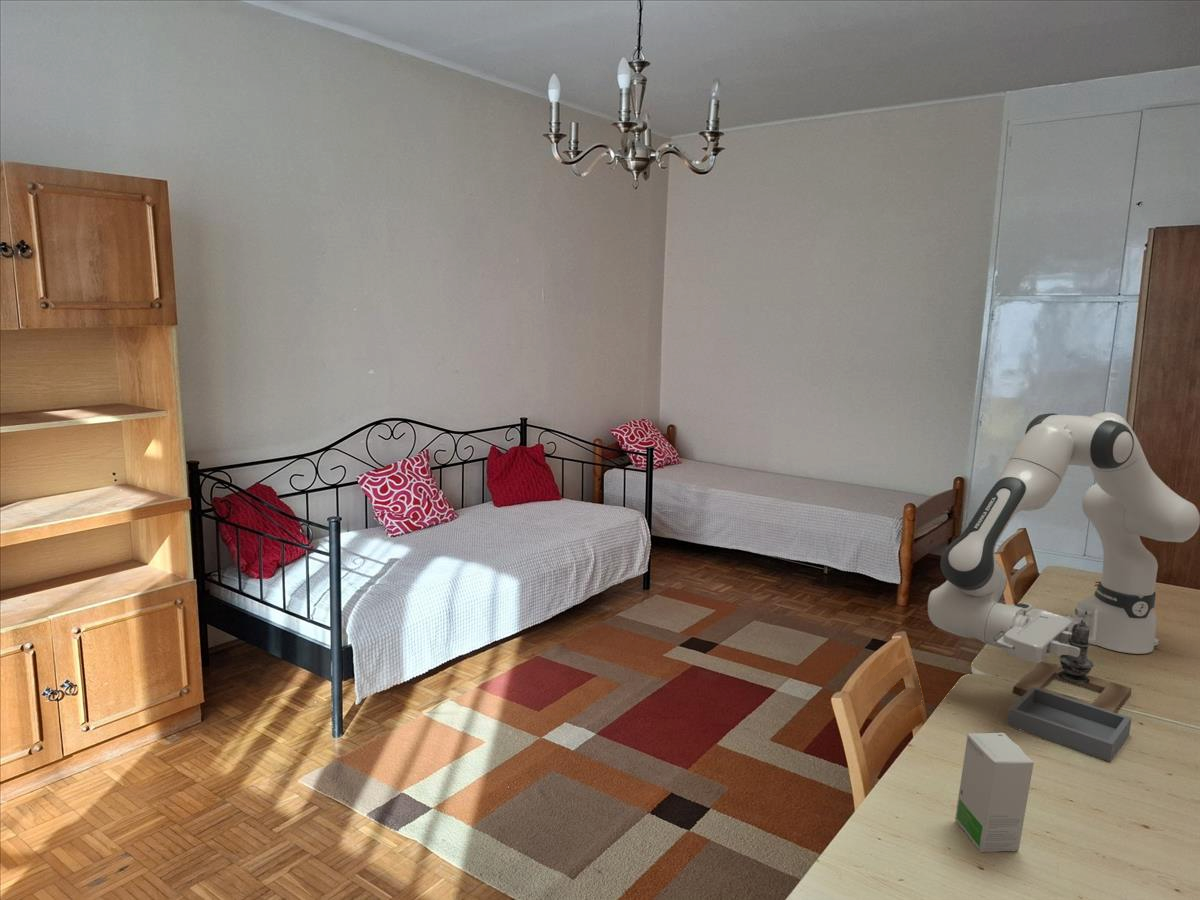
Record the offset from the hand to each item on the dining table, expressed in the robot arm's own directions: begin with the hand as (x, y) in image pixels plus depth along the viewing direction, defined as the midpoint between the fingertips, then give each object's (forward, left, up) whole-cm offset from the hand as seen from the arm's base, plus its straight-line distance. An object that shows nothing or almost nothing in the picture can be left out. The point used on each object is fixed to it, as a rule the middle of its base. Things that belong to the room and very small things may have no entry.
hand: (1083, 648), depth 159 cm
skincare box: (+33, -31, -17) cm, 49 cm away
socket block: (-16, +9, -17) cm, 25 cm away
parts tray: (-1, -1, -17) cm, 17 cm away
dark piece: (-1, -1, -6) cm, 7 cm away
